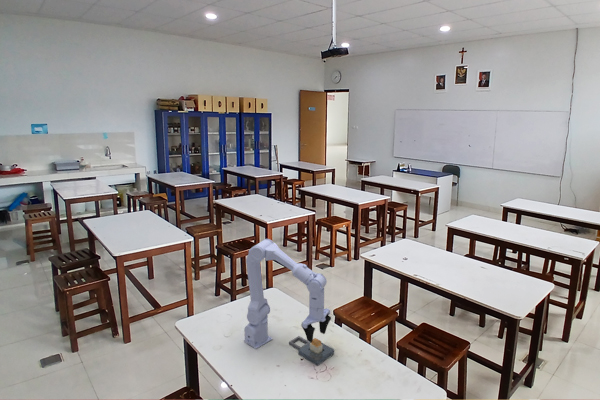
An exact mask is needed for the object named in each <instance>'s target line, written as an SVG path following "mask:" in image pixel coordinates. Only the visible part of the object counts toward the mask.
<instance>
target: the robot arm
mask: <svg viewBox="0 0 600 400" xmlns="http://www.w3.org/2000/svg"><path fill="white" fill-rule="evenodd" d="M263 260H265V262H266V261H267V262H268V261H276V262H278V263H279V264H281V265H282V266H283V267H286V268H287V269H288V270H290V271H291V273H292V276H293V277H295V279H297V280H298V281H300V282H302V284H304V285H305V286H306V288H307V290H308V292H309V296H308V297H309V298H308V299H309V301H308V306H309V307H308V310H309V312H308V315H307V317H306V318H304V320H303V321H302V322H301V328H302V330H303V331H304V333H305V336H306V337H305V338H306V340H307V341H309V342H312V341H313V339H314V332H315V331H316V327H314V326H313V325H312V324H316V323H319V324H318V325H319V332H320V334H323V335H325V334H326V331H327V327H328V325H329V323H330V322H331V320H332V316H330V315H331V309H330V308H327V307H326V308H325V287H326V286H327V282H328V281H327V278H326V277H325V276H324V275H323V274H322V273H320V272H315V271H313V270H312V269H310V268H309V267H308V265H307V264H305V263H301V262H299V263H298V262H296V261H295V260H294V259H292V258H291V257H290V256H289V255H288V254H287V253H286V252H284V251H283V250H282V249H281V248H280V247H279V246H278V244H277V243H275V242H274V241H273V240H272V239H270V238H264V239H262V241H260V242H259V243H257V244H255V245H253V246H252V247H251V248H250V249H249V250H248V255H247V256H246V259H245V264H246V272H247V281H248V287H249V294H250V302H249V304H248V306H247V314H246V320H247V322H248V324H247V325H245V327H244V331H243V332H244V339H243V342H244V343H246V344H247V345H249V346H250V347H252V348H254V349H255V350H257V349H258V348H260V347H261V346H263V345H265V344H267V343H268V342H270V341H272V340H273V337H271V336H270V335H269V325H268V324H269V323H268V322H269V321H268V315H269V314H270V313H271V307H270V305H269V302H268V299H267V298H266V297H264V295H265V293H264V287H263V286H264V285H263V279H262V277H263V276H262V269H261V267H262V266H261V262H262V261H263Z"/></svg>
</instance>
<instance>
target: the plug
mask: <svg viewBox="0 0 600 400" xmlns="http://www.w3.org/2000/svg"><path fill="white" fill-rule="evenodd" d="M321 343H322V340H320V339H318V338H316V337H313V341H312V342H311V343H310V351H312V352H314V353H315V354H317V355H318V354H320V353H321V352H322V344H321Z"/></svg>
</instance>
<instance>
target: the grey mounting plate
mask: <svg viewBox="0 0 600 400" xmlns="http://www.w3.org/2000/svg"><path fill="white" fill-rule="evenodd" d="M298 341H300V342H301V343H303V345H301V346H300V345H298V344H296V342H298ZM308 343H310V342H309V341H307V339H306V338H303V337H301V336H299V335H298V336H296V337H293V338H292V339H291V340H290V341H289V342H288V345H289V346H291V347H293V348H295V349H296V350H297V351H298V350H299V349H301V348H302V347H304V346H305V345H307V344H308Z"/></svg>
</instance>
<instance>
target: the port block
mask: <svg viewBox="0 0 600 400" xmlns="http://www.w3.org/2000/svg"><path fill="white" fill-rule="evenodd" d="M310 343H311V342H310ZM310 343H308V344H307V345H305V344H304V345H305V346H304V347H302V346H301V347H302V348H301V349H299V350H298V349H297V351H298V355H299V356H300V357H302V358H304V359H305V360H307V361H309V362H311V363H312V364H314V365H316V366H320V365H321V364H322V363H323V362H325V361H326V360H327V359H329V358H330V357H332V356H333V355H334V354H335V349H334V348H332V347H331V346H328V345H327V344H325V343H323V342H321V344H322V352H321V353H320V354H318V355H317V354H315V353H314V352H312V351H310Z"/></svg>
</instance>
